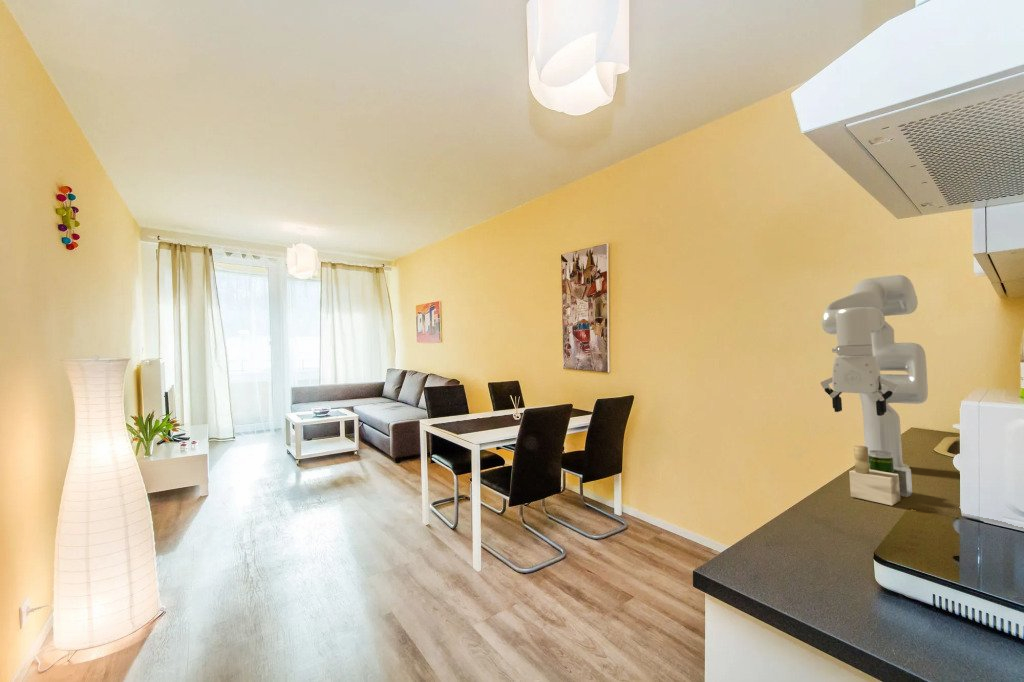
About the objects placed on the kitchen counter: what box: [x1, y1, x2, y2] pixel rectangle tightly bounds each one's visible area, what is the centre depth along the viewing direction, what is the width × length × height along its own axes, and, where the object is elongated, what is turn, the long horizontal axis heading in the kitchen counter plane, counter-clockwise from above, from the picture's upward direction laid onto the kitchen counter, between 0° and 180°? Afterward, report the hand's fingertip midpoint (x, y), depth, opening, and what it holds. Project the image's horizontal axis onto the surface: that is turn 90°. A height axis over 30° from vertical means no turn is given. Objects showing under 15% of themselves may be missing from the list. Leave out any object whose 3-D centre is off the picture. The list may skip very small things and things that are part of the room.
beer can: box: [868, 450, 894, 473], centre depth 120 cm, size 5×5×12 cm
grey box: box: [894, 466, 913, 498], centre depth 122 cm, size 4×9×7 cm, turn 32°
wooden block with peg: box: [848, 445, 901, 506], centre depth 117 cm, size 6×9×14 cm, turn 32°
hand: (858, 413), depth 118 cm, fingers open, 9 cm apart
